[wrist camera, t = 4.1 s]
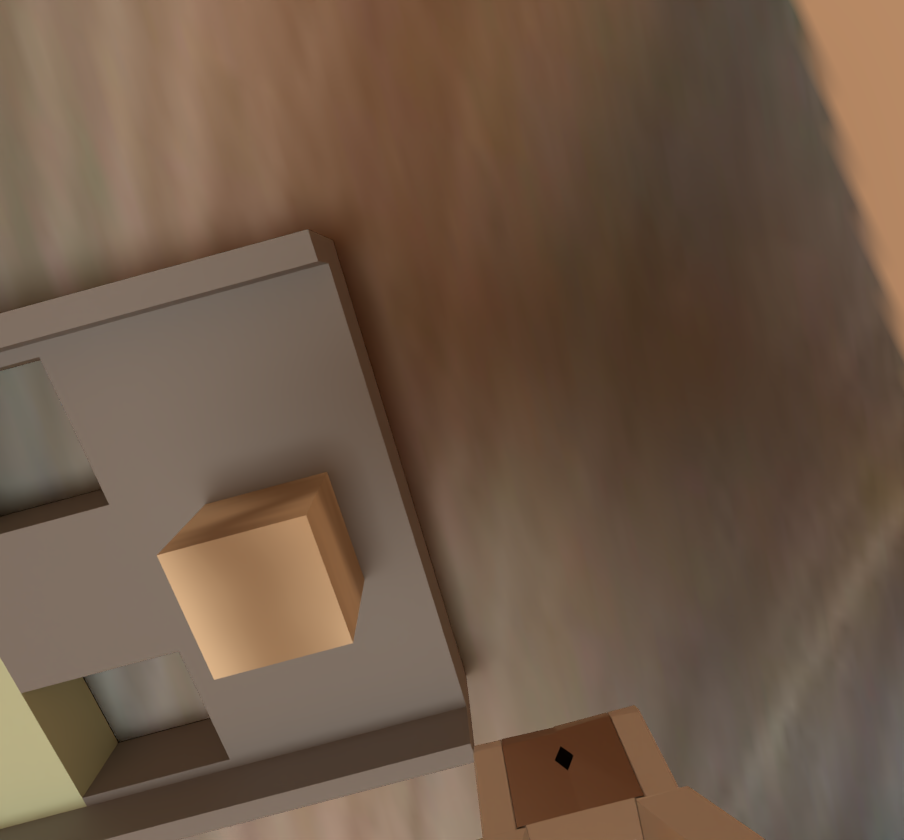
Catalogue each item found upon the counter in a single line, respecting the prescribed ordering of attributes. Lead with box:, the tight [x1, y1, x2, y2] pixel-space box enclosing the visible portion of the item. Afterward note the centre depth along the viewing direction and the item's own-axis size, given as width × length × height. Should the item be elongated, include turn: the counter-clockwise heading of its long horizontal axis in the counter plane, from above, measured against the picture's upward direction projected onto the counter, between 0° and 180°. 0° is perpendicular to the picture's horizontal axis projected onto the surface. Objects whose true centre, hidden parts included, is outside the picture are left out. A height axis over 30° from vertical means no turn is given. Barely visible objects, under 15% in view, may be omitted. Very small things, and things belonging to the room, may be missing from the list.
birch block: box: [157, 472, 364, 680], centre depth 20 cm, size 5×5×4 cm
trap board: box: [0, 229, 474, 840], centre depth 22 cm, size 26×22×5 cm
